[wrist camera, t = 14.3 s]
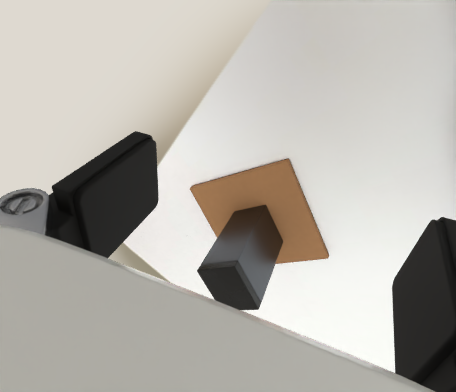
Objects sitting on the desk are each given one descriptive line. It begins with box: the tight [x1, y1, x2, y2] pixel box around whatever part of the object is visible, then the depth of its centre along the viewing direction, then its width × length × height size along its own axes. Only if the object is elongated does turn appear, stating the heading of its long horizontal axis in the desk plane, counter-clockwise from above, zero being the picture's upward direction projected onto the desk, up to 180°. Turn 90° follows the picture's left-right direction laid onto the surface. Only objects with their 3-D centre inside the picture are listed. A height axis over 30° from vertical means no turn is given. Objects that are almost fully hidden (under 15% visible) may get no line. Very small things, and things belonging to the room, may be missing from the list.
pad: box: [190, 159, 329, 264], centre depth 36 cm, size 12×12×1 cm
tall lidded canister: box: [197, 205, 283, 310], centre depth 32 cm, size 5×4×10 cm
